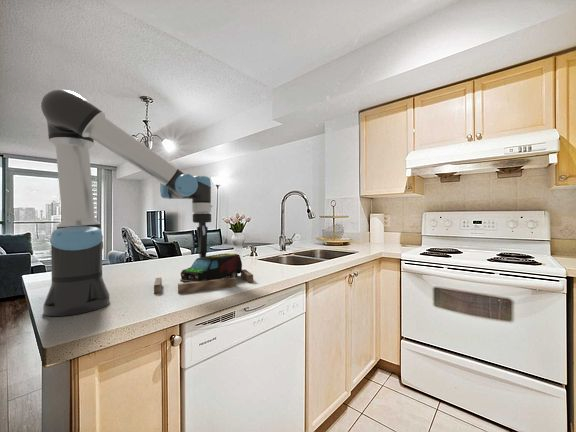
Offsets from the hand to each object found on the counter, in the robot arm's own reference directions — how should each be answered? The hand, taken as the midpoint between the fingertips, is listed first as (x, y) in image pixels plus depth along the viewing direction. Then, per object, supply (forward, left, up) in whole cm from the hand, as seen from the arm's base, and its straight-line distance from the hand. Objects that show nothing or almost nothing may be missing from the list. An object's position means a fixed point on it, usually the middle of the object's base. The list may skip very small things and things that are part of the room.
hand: (203, 268), depth 112 cm
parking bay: (0, -11, -4) cm, 12 cm away
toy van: (+3, -6, -4) cm, 8 cm away
